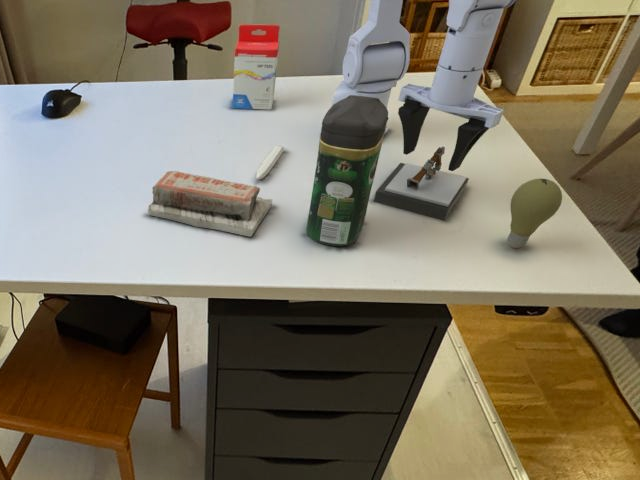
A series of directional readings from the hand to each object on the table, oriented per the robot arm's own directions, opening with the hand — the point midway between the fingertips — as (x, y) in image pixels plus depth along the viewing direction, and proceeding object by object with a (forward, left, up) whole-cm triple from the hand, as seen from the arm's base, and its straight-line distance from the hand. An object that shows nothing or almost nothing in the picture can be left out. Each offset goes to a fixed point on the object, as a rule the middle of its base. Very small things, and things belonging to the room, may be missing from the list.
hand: (430, 160), depth 83 cm
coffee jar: (-7, -17, -6) cm, 19 cm away
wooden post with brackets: (0, 0, -4) cm, 4 cm away
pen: (-25, -4, -6) cm, 26 cm away
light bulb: (+16, -8, -6) cm, 18 cm away
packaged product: (-26, -22, -6) cm, 35 cm away
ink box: (-41, +19, -6) cm, 46 cm away
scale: (0, 0, -6) cm, 6 cm away
